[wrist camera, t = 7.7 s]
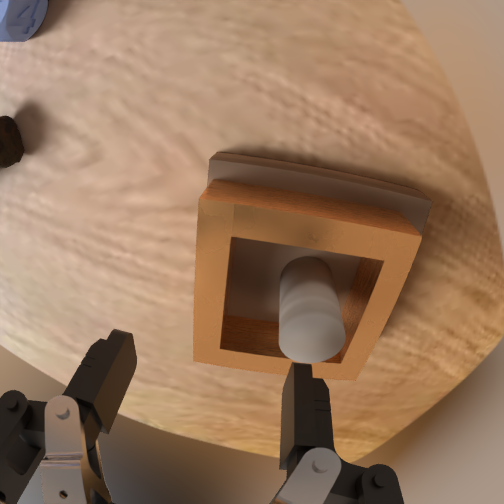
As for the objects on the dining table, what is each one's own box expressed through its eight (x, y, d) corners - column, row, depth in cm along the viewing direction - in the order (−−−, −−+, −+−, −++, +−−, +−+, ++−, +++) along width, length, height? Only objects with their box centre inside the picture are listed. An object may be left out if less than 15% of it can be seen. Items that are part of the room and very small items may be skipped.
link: (213, 179, 15) (199, 198, 13) (401, 212, 15) (422, 237, 13) (203, 328, 20) (193, 361, 18) (349, 347, 20) (355, 380, 18)
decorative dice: (56, -10, 11) (18, -19, 8) (37, 42, 13) (-3, 41, 10) (22, -9, 11) (-14, -14, 7) (5, 39, 13) (-33, 41, 9)
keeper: (217, 151, 17) (179, 189, 10) (418, 190, 17) (478, 243, 10) (204, 318, 22) (181, 395, 16) (361, 339, 22) (379, 414, 16)
